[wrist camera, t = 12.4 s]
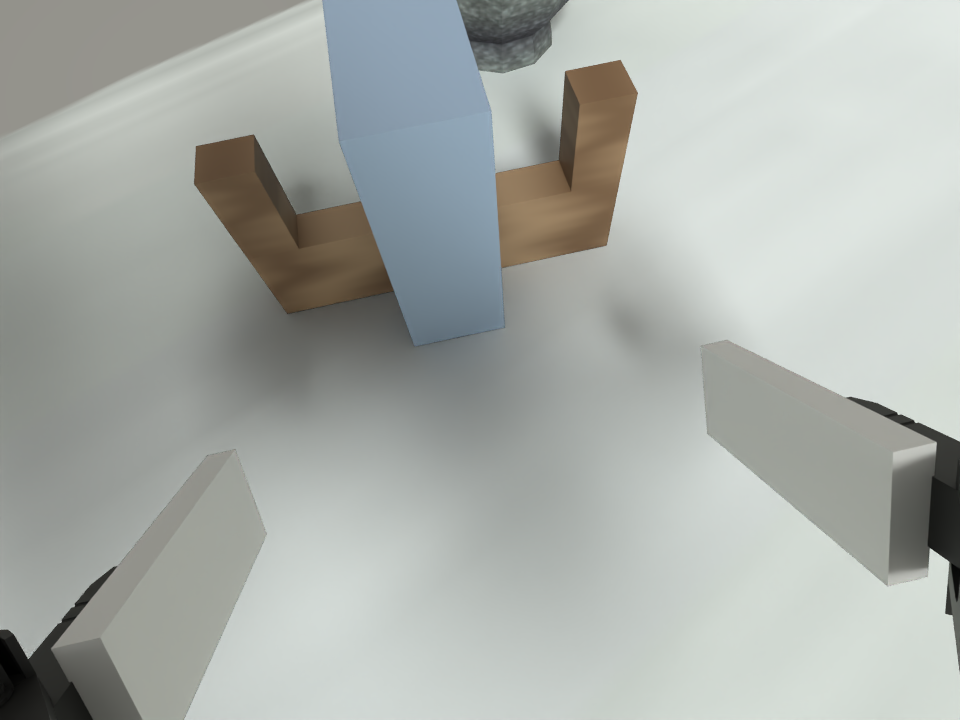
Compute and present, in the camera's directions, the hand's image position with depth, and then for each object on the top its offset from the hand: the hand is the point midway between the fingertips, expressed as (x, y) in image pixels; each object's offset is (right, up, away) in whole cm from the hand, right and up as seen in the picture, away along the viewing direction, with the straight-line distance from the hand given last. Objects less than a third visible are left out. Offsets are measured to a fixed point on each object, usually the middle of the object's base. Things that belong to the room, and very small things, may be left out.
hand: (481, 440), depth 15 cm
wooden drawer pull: (-2, +7, +10) cm, 13 cm away
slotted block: (-2, +7, +10) cm, 13 cm away
